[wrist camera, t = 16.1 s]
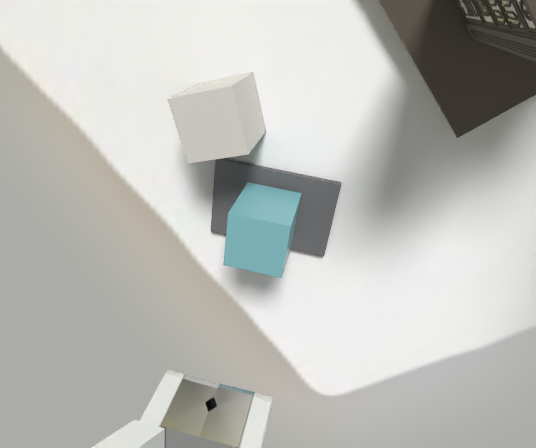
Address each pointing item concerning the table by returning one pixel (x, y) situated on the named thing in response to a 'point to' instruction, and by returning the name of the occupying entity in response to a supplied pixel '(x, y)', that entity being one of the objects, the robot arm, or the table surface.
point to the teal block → (261, 229)
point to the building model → (470, 54)
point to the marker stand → (312, 188)
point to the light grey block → (218, 118)
